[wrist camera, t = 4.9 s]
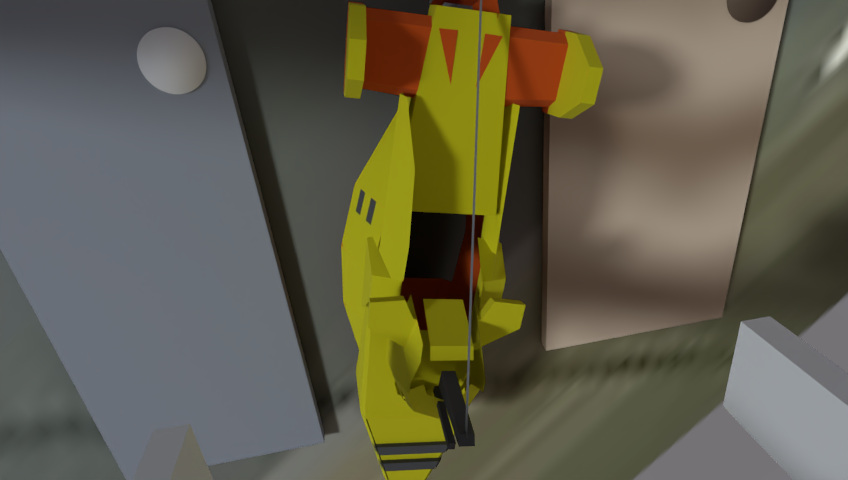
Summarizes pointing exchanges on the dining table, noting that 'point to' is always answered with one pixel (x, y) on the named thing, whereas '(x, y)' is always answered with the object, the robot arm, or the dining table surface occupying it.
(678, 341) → the dining table surface
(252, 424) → the pad one
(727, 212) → the pad two
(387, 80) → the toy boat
